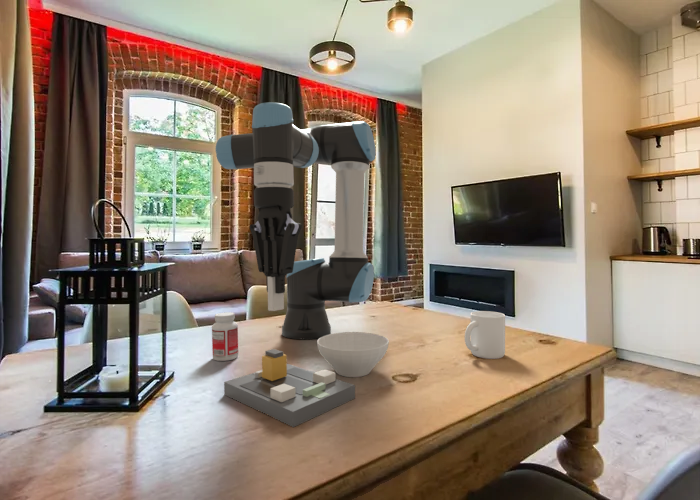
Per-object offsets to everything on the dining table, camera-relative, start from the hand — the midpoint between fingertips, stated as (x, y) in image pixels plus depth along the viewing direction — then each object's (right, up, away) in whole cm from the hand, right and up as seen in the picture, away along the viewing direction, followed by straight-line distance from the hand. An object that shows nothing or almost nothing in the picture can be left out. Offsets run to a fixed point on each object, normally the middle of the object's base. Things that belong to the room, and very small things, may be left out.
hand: (276, 309), depth 78 cm
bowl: (+15, -16, +12) cm, 25 cm away
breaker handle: (0, -13, 0) cm, 13 cm away
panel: (+3, -16, -2) cm, 17 cm away
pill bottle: (-17, -16, +22) cm, 32 cm away
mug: (+48, -15, +23) cm, 55 cm away
